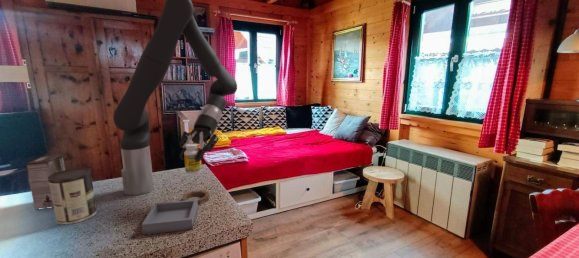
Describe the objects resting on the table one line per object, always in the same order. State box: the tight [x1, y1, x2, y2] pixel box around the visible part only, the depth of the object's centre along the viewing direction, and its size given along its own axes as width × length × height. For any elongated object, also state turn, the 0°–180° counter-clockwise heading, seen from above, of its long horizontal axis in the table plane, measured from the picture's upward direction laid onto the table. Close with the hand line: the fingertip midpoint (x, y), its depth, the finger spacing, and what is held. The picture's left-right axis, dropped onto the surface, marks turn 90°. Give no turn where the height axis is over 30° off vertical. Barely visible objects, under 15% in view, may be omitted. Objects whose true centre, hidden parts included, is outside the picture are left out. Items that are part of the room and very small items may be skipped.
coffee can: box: [48, 167, 98, 225], centre depth 82 cm, size 10×10×14 cm
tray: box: [141, 198, 199, 236], centre depth 80 cm, size 13×13×3 cm
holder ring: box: [181, 190, 210, 206], centre depth 94 cm, size 9×9×2 cm
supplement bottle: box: [184, 142, 203, 174], centre depth 92 cm, size 5×5×10 cm
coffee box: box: [25, 154, 67, 210], centre depth 91 cm, size 9×6×16 cm
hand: (189, 159), depth 90 cm, fingers closed on supplement bottle, 5 cm apart
